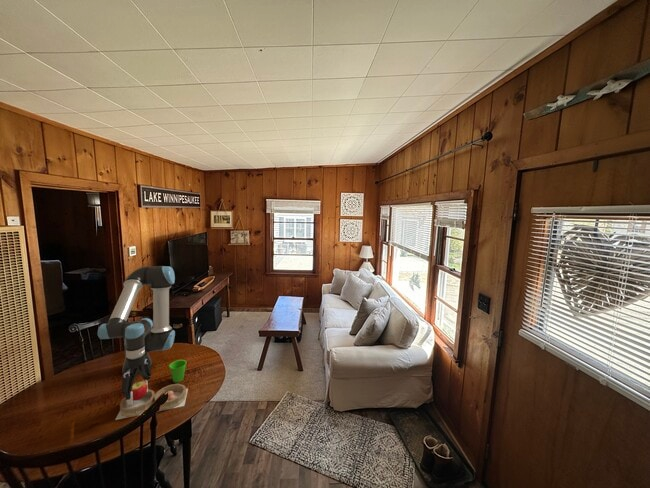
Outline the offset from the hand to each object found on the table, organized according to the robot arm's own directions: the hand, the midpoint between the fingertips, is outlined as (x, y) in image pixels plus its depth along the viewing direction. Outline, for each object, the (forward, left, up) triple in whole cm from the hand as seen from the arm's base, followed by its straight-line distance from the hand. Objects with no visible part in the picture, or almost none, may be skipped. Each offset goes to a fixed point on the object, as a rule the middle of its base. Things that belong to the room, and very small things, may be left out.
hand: (137, 397), depth 130 cm
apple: (0, 0, -1) cm, 1 cm away
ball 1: (+3, +13, -5) cm, 14 cm away
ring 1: (0, 0, -5) cm, 5 cm away
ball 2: (+8, +13, -5) cm, 16 cm away
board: (+3, +7, -6) cm, 9 cm away
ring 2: (+6, +13, -5) cm, 15 cm away
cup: (-10, +21, -6) cm, 24 cm away
